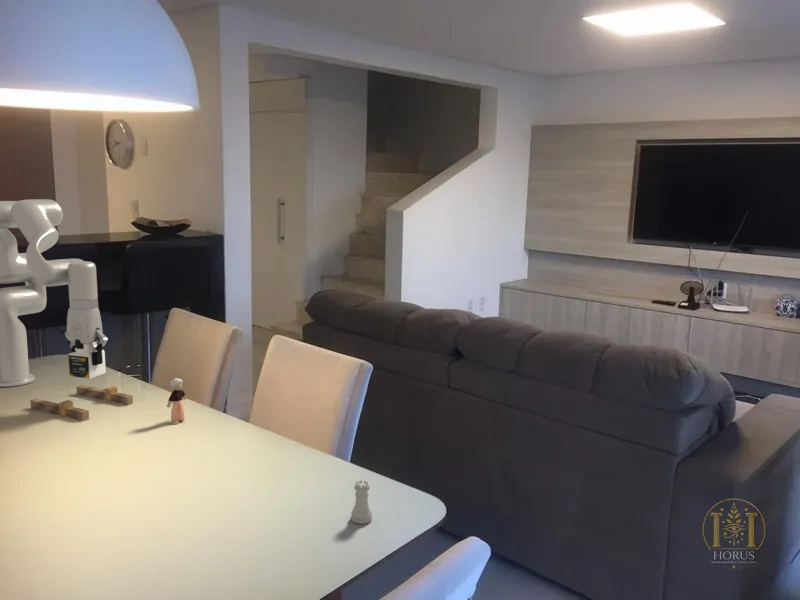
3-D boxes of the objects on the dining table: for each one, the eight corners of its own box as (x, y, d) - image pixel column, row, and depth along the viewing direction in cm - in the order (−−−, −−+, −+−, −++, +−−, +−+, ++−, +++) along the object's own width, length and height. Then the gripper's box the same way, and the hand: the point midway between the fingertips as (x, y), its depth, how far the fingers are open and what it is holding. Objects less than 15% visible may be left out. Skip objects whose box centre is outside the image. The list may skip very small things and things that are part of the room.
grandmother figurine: (178, 426, 192) (176, 382, 190) (165, 425, 193) (163, 381, 191) (190, 417, 200) (189, 374, 198) (178, 416, 201) (177, 374, 198)
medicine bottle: (69, 377, 202) (66, 337, 200) (86, 371, 209) (84, 332, 207) (89, 379, 200) (87, 339, 198) (106, 373, 207) (104, 334, 205)
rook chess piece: (360, 512, 145) (361, 476, 144) (376, 519, 142) (377, 482, 141) (346, 519, 142) (346, 483, 140) (362, 527, 139) (362, 489, 137)
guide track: (29, 408, 204) (28, 395, 203) (83, 392, 221) (82, 380, 220) (81, 421, 194) (80, 407, 194) (134, 403, 211) (133, 390, 211)
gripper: (52, 303, 201) (55, 361, 204) (94, 308, 194) (97, 369, 197) (74, 299, 208) (77, 356, 211) (115, 304, 200) (118, 363, 203)
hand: (87, 362), depth 204 cm, fingers closed on medicine bottle, 7 cm apart
